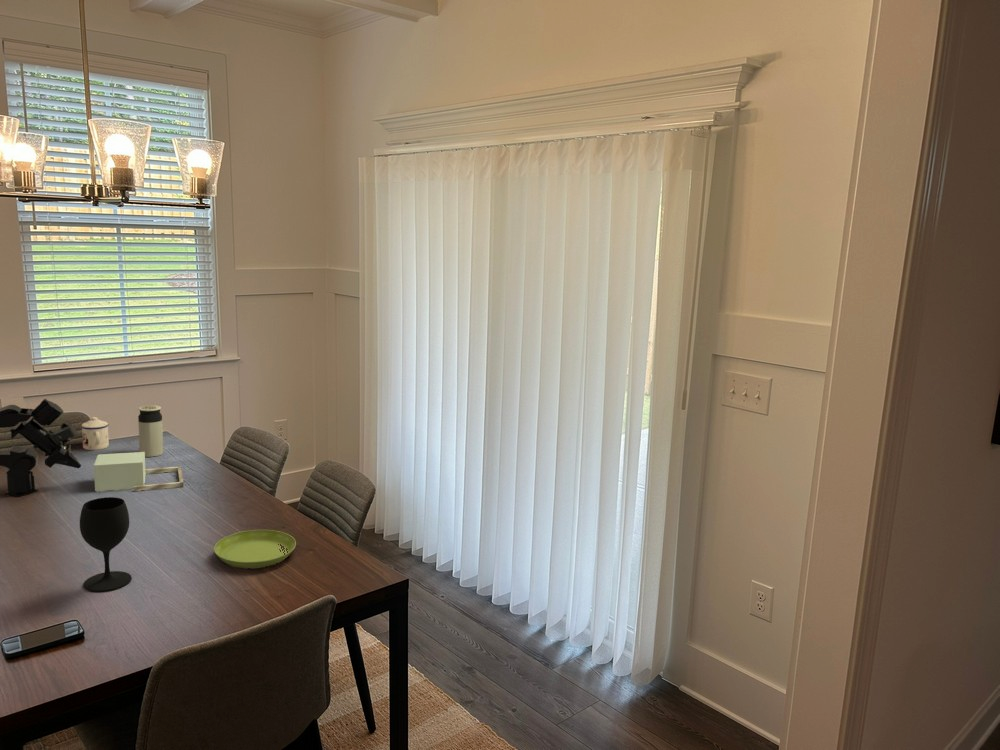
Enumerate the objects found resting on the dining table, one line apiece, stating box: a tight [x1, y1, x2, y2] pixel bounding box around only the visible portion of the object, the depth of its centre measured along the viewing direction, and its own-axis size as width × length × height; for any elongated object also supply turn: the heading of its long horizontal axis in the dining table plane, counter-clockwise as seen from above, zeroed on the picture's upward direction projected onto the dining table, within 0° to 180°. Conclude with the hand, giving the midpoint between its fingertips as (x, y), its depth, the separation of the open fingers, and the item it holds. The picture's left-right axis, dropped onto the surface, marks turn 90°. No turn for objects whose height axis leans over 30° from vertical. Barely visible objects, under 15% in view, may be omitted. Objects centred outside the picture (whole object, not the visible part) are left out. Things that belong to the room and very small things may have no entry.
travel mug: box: [137, 404, 164, 458], centre depth 273 cm, size 8×8×18 cm
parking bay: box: [133, 465, 184, 492], centre depth 248 cm, size 14×18×2 cm
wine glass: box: [79, 496, 133, 593], centre depth 175 cm, size 10×10×20 cm
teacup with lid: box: [80, 416, 110, 451], centre depth 278 cm, size 12×9×12 cm
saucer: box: [213, 529, 297, 569], centre depth 196 cm, size 21×21×3 cm
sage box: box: [93, 451, 147, 492], centre depth 242 cm, size 14×12×9 cm
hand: (80, 467), depth 237 cm, fingers closed
